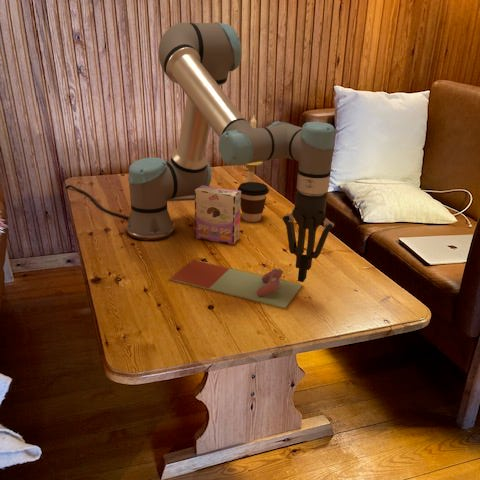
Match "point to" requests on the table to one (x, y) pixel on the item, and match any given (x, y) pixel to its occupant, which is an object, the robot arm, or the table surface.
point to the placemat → (235, 283)
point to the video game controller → (270, 282)
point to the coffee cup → (252, 200)
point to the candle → (251, 165)
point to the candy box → (217, 214)
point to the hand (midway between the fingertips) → (301, 279)
